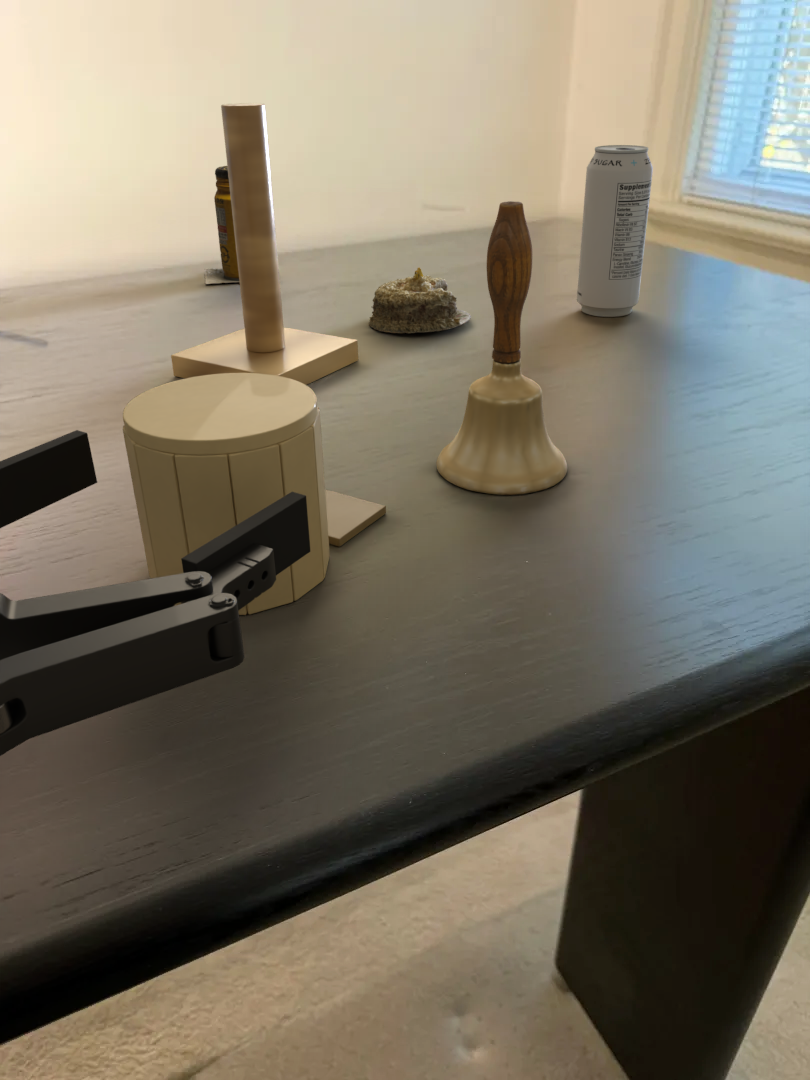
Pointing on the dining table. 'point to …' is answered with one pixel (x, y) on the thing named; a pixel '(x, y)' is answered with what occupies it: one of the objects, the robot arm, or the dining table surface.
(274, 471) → the slatted wooden barrel
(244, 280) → the hat stand
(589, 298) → the energy drink can
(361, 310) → the dining table surface
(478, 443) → the hand bell
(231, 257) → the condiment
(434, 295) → the cake
